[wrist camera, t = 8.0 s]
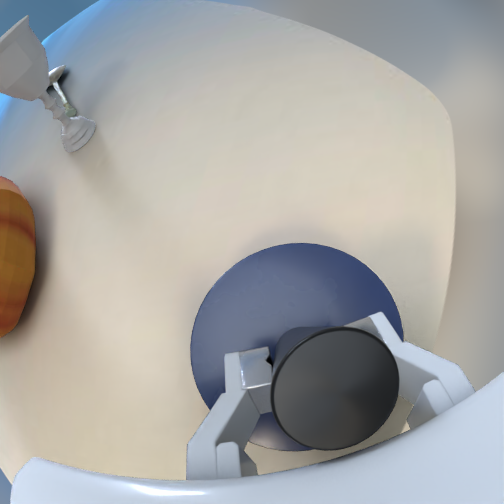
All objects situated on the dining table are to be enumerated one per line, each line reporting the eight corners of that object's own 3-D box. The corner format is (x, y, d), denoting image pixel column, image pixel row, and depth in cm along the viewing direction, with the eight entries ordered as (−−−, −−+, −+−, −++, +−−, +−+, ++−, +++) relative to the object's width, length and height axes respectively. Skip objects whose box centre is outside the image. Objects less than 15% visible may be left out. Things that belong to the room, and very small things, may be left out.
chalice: (60, 169, 26) (-35, 80, 9) (55, 139, 28) (-20, 58, 10) (107, 132, 26) (25, 20, 9) (97, 105, 28) (31, 10, 11)
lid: (425, 309, 14) (556, 275, 4) (324, 470, 12) (363, 587, 2) (265, 214, 17) (247, 77, 7) (161, 375, 15) (30, 412, 5)
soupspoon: (68, 67, 35) (43, 90, 35) (59, 57, 32) (34, 81, 31) (91, 102, 29) (57, 135, 28) (78, 87, 25) (42, 122, 25)
